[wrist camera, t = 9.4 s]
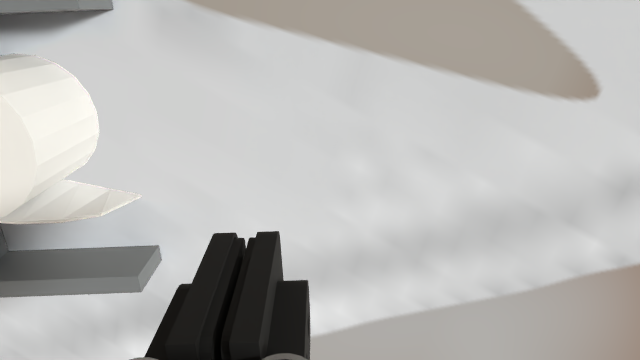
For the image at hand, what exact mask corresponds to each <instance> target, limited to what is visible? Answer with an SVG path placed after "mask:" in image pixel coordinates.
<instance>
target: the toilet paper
mask: <svg viewBox="0 0 640 360" xmlns="http://www.w3.org/2000/svg"><path fill="white" fill-rule="evenodd" d="M98 136H99V124H98V115H97V111H96V109H95V107H94V104H93V102H92V100H91V98H90V95H89V93H88V92H87V91H86V90H85V88H84V87H83V86H82V85H81V84H80V82H79V81H78V80H77V79H76V77H75V76H73V75H72V74H71V73H69V72H68V71H67V70H65V69H64V68H62V67H61V66H60V65H58V64H57V63H55V62H52V61H50V60H47V59H44V58H42V57H39V56H36V55H25V54H9V55H1V56H0V223H8V224H39V223H63V222H69V221H75V220H81V219H87V218H93V217H99V216H103V215H105V214H107V213H109V212H111V211H113V210H115V209H118V208H120V207H122V206H124V205H126V204H128V203H130V202H132V201H134V200H136V199H139V198H141V194H136V193H131V192H126V191H121V190H116V189H110V188H105V187H100V186H95V185H90V184H85V183H80V182H75V181H70V180H65V179H64V178H65V177H67V176H68V175H70V174H71V173H73V172H74V171H76V170H77V169H79V168H80V167H82V166H83V165H85V164H86V163H87V161H88V160H89V158H90V157H91V155H92V154H93V152H94V151H95V149H96V145H97V141H98Z"/></svg>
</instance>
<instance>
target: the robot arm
mask: <svg viewBox="0 0 640 360" xmlns="http://www.w3.org/2000/svg"><path fill="white" fill-rule="evenodd" d="M130 360H310V303H309V286H308V280H298V281H283V270H282V257H281V245H280V235H279V231H274V232H257V235H256V238H249V241H248V244H247V248H246V246H245V240H244V238H238V237H237V234H236V233H215V234H213V236H212V239H211V241H210V243H209V245H208V248H207V250H206V252H205V254H204V257H203V259H202V261H201V264H200V266H199V268H198V270H197V273H196V275H195V277H194V280H193V282H192V284H181V285H179V287H178V288H177V290H176V292H175V294H174V296H173V299H172V301H171V303H170V305H169V307H168V309H167V311H166V313H165V315H164V317H163V319H162V321H161V324H160V326H159V328H158V330H157V332H156V334H155V336H154V338H153V340H152V342H151V344H150V346H149V349H148V351H147V353H146V355H145V357H143V358H134V359H130Z"/></svg>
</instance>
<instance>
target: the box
mask: <svg viewBox="0 0 640 360" xmlns="http://www.w3.org/2000/svg"><path fill="white" fill-rule="evenodd" d="M111 9H113V4H112V0H0V14H19V13H42V12H65V11H88V10H111ZM161 260H162V259H161V254H160V248H159V246H135V247H109V248H83V249H57V250H31V251H8V248H7V245H6V242H5V239H4V236H3V233H2V230H1V227H0V297H25V296H52V295H79V294H106V293H133V292H142V290H143V289H144V287H145V286H146V284H147V282H148V281H149V279H150V278H151V276H152V275H153V273H154V271H155V270H156V268H157V267H158V265H159V263H160V262H161Z"/></svg>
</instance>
